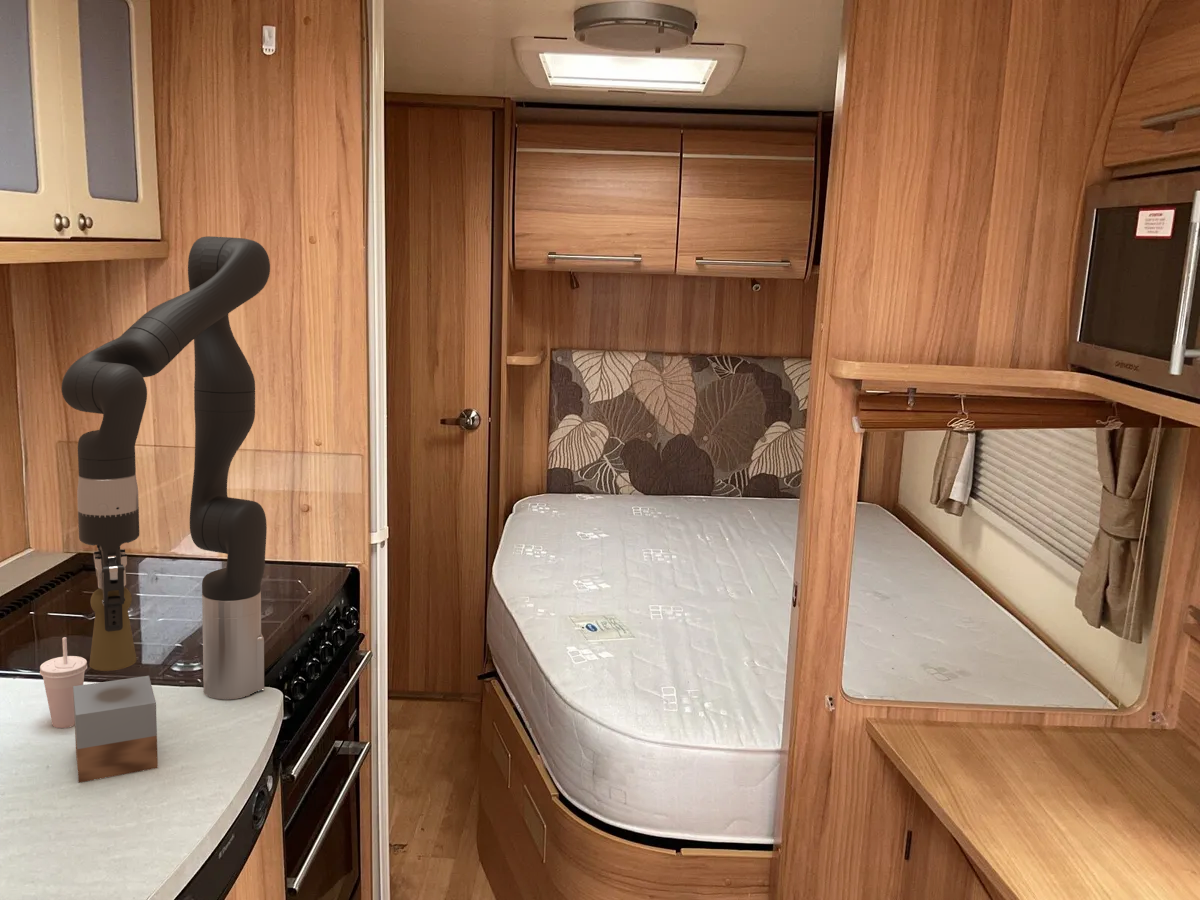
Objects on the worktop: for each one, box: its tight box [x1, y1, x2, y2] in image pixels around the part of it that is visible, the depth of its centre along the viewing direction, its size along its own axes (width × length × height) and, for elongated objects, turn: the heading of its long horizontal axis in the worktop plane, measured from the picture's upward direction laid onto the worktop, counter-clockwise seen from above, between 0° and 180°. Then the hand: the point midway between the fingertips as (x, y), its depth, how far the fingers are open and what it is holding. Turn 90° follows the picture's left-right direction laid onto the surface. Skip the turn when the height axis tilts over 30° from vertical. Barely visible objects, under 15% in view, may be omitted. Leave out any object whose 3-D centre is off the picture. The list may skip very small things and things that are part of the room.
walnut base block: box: [74, 729, 159, 784], centre depth 140 cm, size 10×10×5 cm
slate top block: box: [73, 675, 158, 749], centre depth 139 cm, size 10×10×5 cm
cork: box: [88, 586, 137, 672], centre depth 137 cm, size 6×6×11 cm
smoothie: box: [39, 636, 88, 729], centre depth 149 cm, size 6×6×14 cm
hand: (112, 622), depth 137 cm, fingers closed on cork, 5 cm apart
